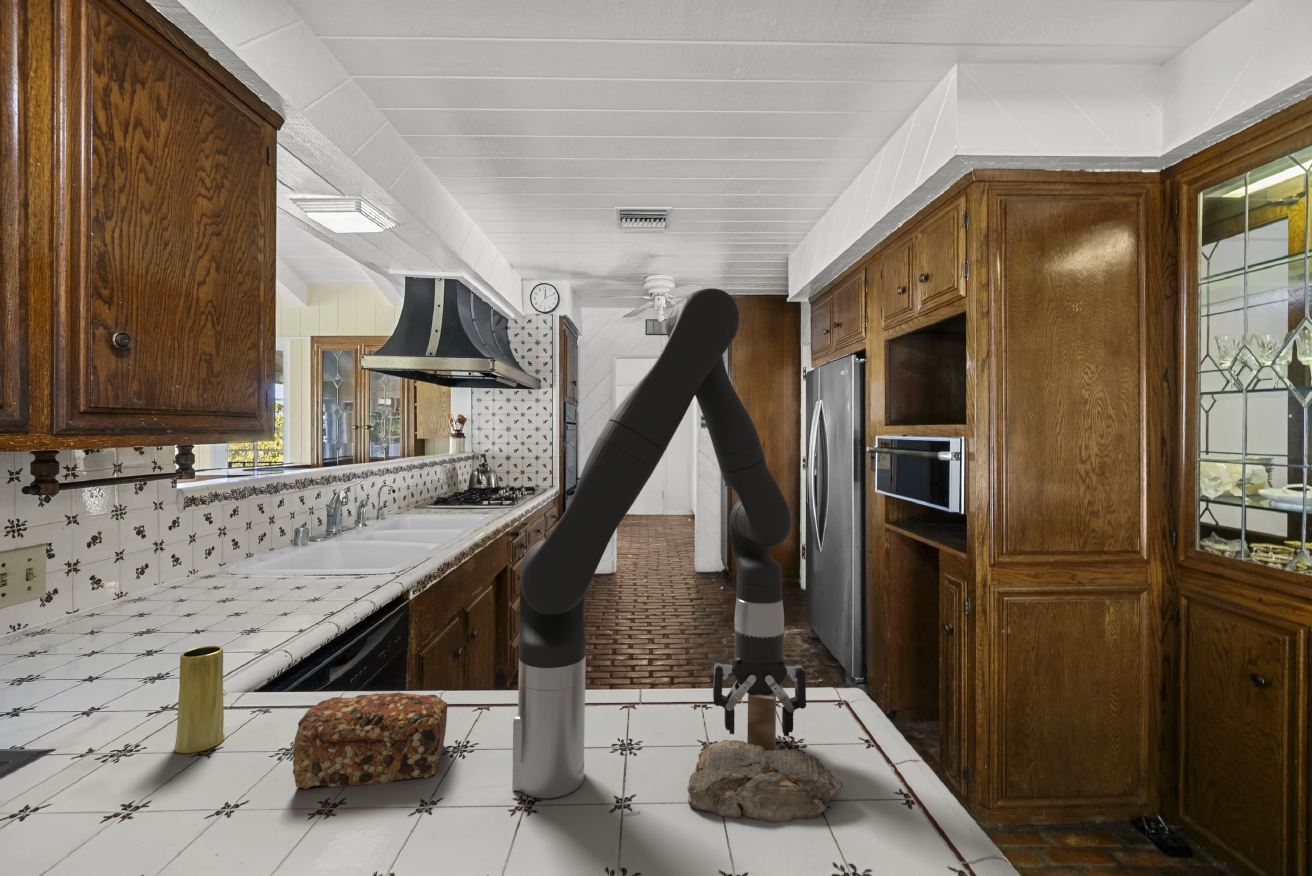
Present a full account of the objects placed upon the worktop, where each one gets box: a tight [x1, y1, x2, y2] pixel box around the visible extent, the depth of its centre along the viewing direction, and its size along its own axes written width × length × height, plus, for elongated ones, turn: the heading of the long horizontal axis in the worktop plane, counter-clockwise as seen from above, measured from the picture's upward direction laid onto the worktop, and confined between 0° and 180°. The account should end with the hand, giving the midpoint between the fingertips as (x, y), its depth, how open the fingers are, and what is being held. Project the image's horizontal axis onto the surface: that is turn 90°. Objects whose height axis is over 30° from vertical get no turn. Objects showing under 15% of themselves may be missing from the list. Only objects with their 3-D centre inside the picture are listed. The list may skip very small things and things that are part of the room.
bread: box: [292, 691, 448, 790], centre depth 85 cm, size 19×11×10 cm, turn 101°
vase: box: [174, 645, 225, 755], centre depth 91 cm, size 6×6×14 cm
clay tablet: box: [686, 739, 845, 823], centre depth 80 cm, size 14×5×20 cm
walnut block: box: [746, 693, 777, 751], centre depth 93 cm, size 4×6×9 cm, turn 166°
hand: (758, 732), depth 91 cm, fingers open, 8 cm apart
